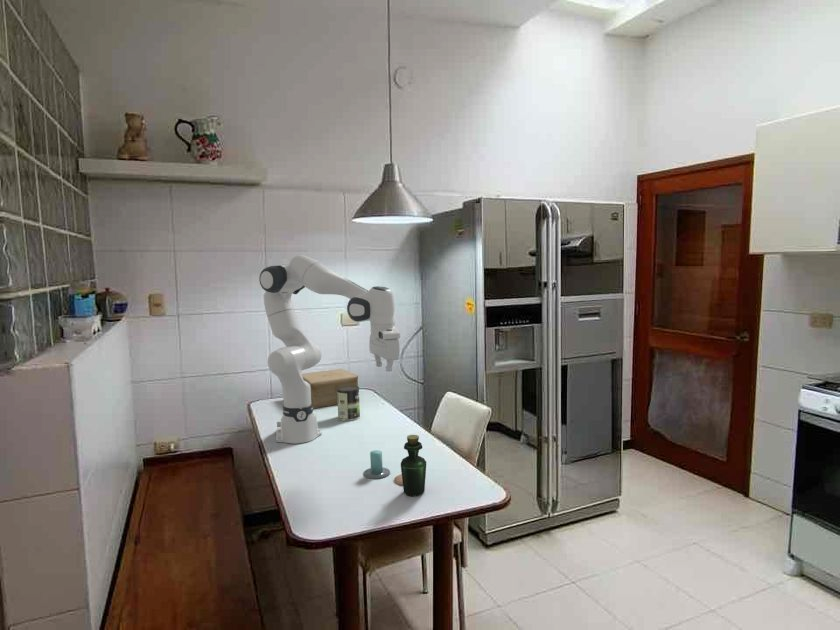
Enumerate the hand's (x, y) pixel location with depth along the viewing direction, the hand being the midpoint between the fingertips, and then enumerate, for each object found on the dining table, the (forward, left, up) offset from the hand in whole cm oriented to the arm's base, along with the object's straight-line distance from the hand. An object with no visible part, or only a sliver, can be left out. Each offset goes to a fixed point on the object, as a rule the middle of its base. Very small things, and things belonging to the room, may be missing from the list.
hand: (383, 368), depth 190 cm
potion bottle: (+32, -4, -33) cm, 46 cm away
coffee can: (-52, +3, -33) cm, 62 cm away
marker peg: (+13, -9, -33) cm, 36 cm away
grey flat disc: (+13, -9, -33) cm, 37 cm away
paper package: (-87, +3, -34) cm, 94 cm away
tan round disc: (+23, -2, -33) cm, 40 cm away
